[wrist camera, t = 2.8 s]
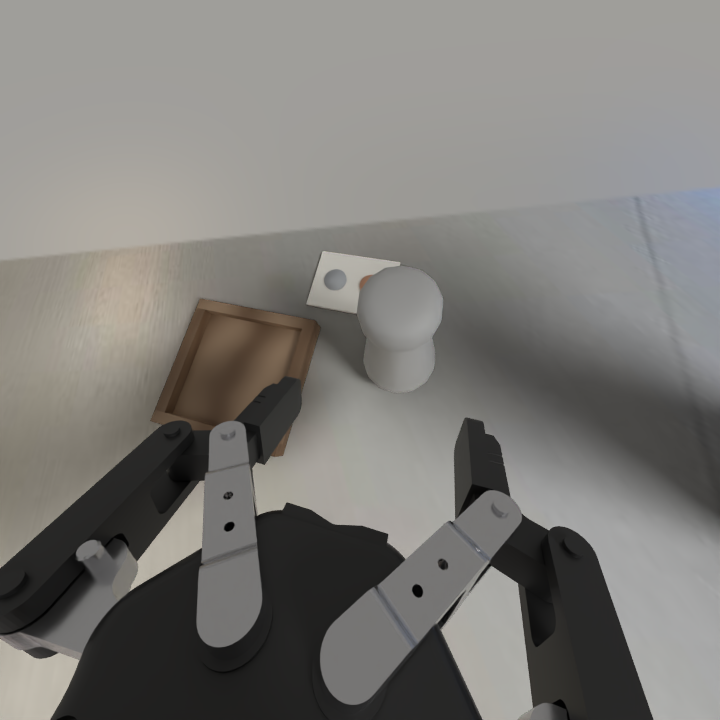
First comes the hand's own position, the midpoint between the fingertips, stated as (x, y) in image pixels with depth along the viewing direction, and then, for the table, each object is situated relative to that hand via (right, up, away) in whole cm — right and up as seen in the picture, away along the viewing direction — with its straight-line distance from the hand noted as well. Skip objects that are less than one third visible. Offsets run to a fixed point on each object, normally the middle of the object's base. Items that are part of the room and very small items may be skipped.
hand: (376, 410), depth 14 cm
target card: (-1, +10, +15) cm, 18 cm away
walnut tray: (-12, +1, +14) cm, 18 cm away
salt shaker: (+3, +2, +12) cm, 13 cm away
